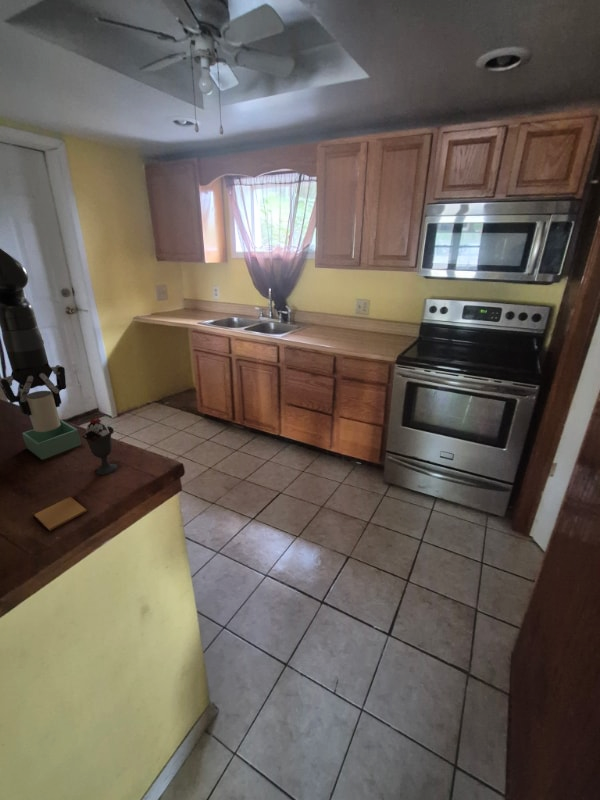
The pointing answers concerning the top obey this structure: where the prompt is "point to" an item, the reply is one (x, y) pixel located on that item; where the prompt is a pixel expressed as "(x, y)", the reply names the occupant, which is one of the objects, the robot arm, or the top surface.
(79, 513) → the coaster
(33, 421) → the coffee cup
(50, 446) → the bin
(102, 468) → the sundae
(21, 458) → the top surface
